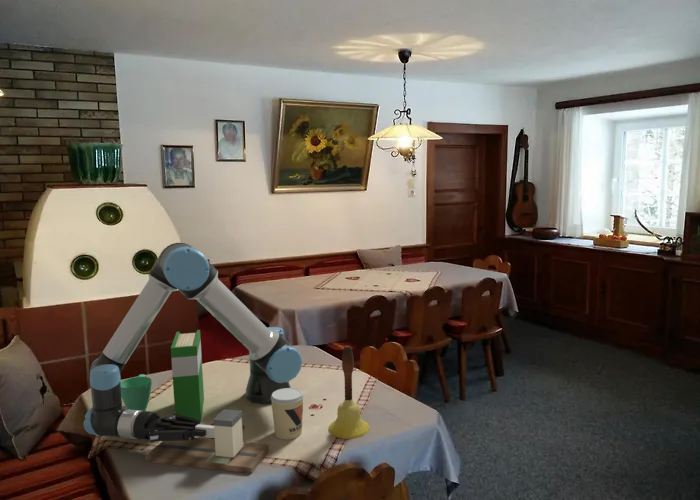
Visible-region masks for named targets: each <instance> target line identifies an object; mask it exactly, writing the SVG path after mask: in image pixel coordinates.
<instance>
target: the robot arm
mask: <svg viewBox="0 0 700 500" xmlns="http://www.w3.org/2000/svg"><path fill="white" fill-rule="evenodd" d="M177 290H178V291H179V293H180V294H182V295H183V296H184V297H185V298H186V299H187V300H196V301H197V302H199V304H200V305H201V306H203V308H205V309H206V311H208V312H209V313H210V314H211V315H212V317H214V318H215V319H216V320H217V321H218V322H219V323H220V324H221V325H222V326H223V327H224V328H225V329H226V330H227V331H229V332H230V333H231V334H232V336H234V337H235V338H236V339H237V340H238V341H239V342H240V343H241V344H242V345H243V346H244V347H245V348H246V349H247V350H248V355H249V356H248V357H249V377H248V381H247V384H246V388H245V398H246V399H247V400H248V401H250V402H253V403H256V404H272V401H271V395H272V393H273V392H274V391H276V390H279V389H283V388H291V385H290V382H291V381H292V380H294V379H295V378H296V377H297V376H298V375H299V373H300V371H301V369H302V367H303V365H302V364H303V357H302V354H301V353H300V351H299V349H298V348H296V347H295V346H293V345H292V344H291V343H290V342H289V341H288V340H287V339H286V338H285V337H284V336H285V333H284V329H283V328H281V327H279V326H277V327H276V326H271V327H267V326H266V325H265V324H264V323H263V322H262V321H261V320H260V319H259V318H258V317H257V316H256V315H255V314H254V313H253V312H252V311H251V310H250V309H249V308H248V307H247V306H246V305H245V304H244V303H243V302H242V301H241V300H240V299H239V298H238V297H237V296H236V295H235V294H234V293H233V292H232V291H231V290H230V289H229V288H228V287H227V286H226V285H225V284H224V283H223V282H222V281H221V280H220V279H219V271H218V269H217V268H215V266H213V265H212V263H211V262H210V261H209V260H208V259H207V258H206V256H205V254H204V253H202V251H201V250H200V249H198V248H195V247H193V246H192V245H189V244H188V243H185V242H174V243H171V244H169V245H167V246H166V247H164V248H163V249H162V251H161V252H160V253H159V256H158V258H157V259H156V261H155V262H154V264H153V266H152V268H151V270H150V271H149V272H148V281H147V282H146V283H145V285H144V287H143V288H142V289H141V291H140V293H139V294H138V296H137V297H136V299H135V301H134V302H133V304H132V306H131V307H130V308H129V309H128V312H127V313H126V315H125V316H124V318H123V319H122V321H121V323H120V324H119V326H118V327H117V329H116V331H114V333H113V335H112V337H110V340H108V343H107V344H106V346H105V347H104V349H103V350H102V352H101V354H100V355H99V357H98V358H96V359H95V360H93V361H92V364H91V365H90V369H89V385H90V386H89V387H90V393H91V403H92V407H91V408H89V409H88V410H87V412H86V414H85V415H84V418H85V419H84V421H83V428H84V431H86V433H88V434H90V435H95V436H99V437H111V438H112V437H113V438H122V439H130V440H139V441H149V442H150V443H156V442H162V441H186V440H189V437H190V438H191V440H194V439H195V438H196V437H197V438H207V439H215V433H214V425H211V424H201V422H200V420H198V419H194V418H190V417H186V416H181V415H179V414H178V413H175V412H174V413H173V416H170V417H167V416H160V415H159V414H158V413H157V412H155V411H149V410H146V411H141V410H128V409H127V408H123V399H122V397H121V383H120V382H121V379H122V378H121V372H122V370H123V369H124V367H125V366H126V364H127V362H128V361H129V359H130V358H131V356H132V354H133V353H134V351H135V350H136V349H137V346H138V345H139V344H140V342H141V340H142V339H143V337H144V335H145V334H146V333H147V331H148V330H149V328H150V326H151V324H152V323H153V322H154V320H155V318H156V317H157V315H158V314H159V312H160V311H161V310H162V308H163V306H164V304H165V303H166V302H167V300H168V298H169V296H170V295H171V294H172V292H176V291H177Z"/></svg>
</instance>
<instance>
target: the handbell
mask: <svg viewBox="0 0 700 500" xmlns="http://www.w3.org/2000/svg"><path fill="white" fill-rule="evenodd" d="M354 361H355V360H354V352H353V348H352V346H351V345H344V346H343V350H342V356H341V369H342V371H343V372H342V373H343V375H344V401H342V402H340V404H339V405H338V406H337V412H336V414H337V417H336V419H335V420H334V421H332V422H331V423H330V424H329V426H328V430H327V431H328V432H329V433H328V434H330V435H332V436H333V437H334V438H335V437H336V438H338V439H344V440H345V439H348V440H349V439H350V440H351V439H359V438H362V437H364V436H366V435H367V434H369V432H370V431H371V427H370V425H369V423H368V422H367V421H365V420H363V418H362V417H361V407H360V405H359V404H358V403H357V402H355V401H354V400H353V371H354V366H355V364H354V363H355V362H354Z"/></svg>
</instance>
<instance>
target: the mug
mask: <svg viewBox="0 0 700 500" xmlns="http://www.w3.org/2000/svg"><path fill="white" fill-rule="evenodd" d="M152 382H153V380H152V378H151V377H148V376H146V374H142V373H141V374H139V375H138V376H135V377H134V376H133V377H130V378H126V379H124V380H122V381H121V380H120V383H121V399H122V403H123V404H124V406H125V409H128V410H141V411H147V407H148V406H149V405H148V404H149V401H150V397H151V391H152Z"/></svg>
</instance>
